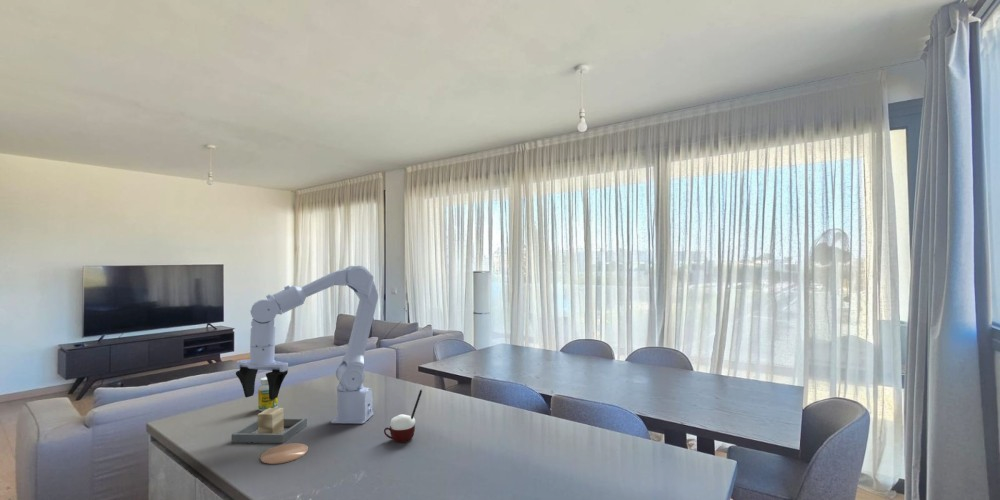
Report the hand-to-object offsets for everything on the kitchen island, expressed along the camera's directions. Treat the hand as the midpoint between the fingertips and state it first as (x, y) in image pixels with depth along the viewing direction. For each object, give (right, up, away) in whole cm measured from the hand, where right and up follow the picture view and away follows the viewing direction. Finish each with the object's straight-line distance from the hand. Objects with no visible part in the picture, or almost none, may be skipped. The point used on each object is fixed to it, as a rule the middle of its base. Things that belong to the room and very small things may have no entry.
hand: (261, 397), depth 114 cm
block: (+2, -10, +1) cm, 10 cm away
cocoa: (+39, -9, -5) cm, 40 cm away
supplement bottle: (-10, -11, +21) cm, 26 cm away
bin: (+2, -10, +1) cm, 10 cm away
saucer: (+12, -10, -12) cm, 19 cm away
